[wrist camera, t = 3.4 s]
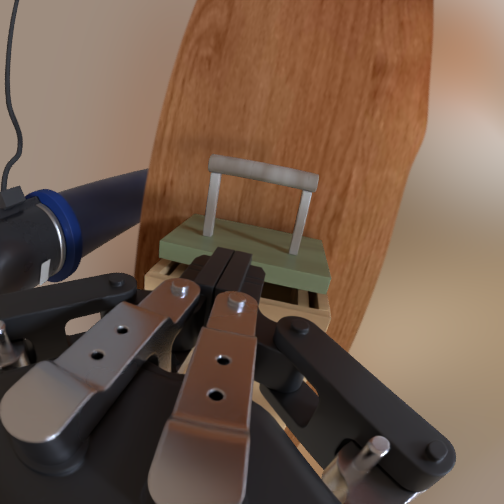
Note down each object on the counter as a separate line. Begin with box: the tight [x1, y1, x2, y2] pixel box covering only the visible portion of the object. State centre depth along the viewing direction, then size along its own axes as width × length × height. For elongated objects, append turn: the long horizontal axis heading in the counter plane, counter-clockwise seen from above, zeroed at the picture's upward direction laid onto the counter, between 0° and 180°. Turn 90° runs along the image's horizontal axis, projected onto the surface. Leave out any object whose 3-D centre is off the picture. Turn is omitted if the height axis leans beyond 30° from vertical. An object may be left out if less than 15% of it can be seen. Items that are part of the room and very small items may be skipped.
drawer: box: [159, 154, 331, 307], centre depth 23 cm, size 19×11×7 cm, turn 170°
